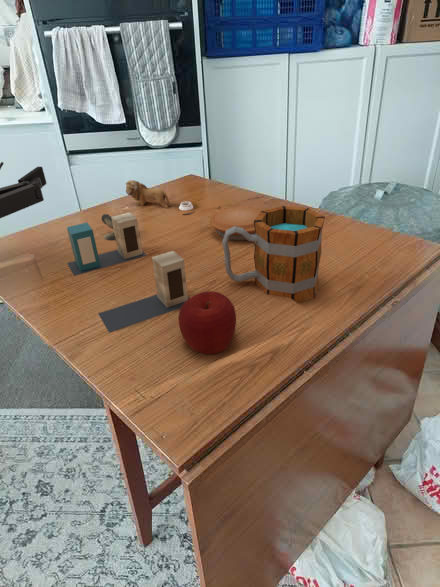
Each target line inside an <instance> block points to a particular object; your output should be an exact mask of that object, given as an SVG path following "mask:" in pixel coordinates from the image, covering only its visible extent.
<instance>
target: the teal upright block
mask: <svg viewBox="0 0 440 587" xmlns="http://www.w3.org/2000/svg"><path fill="white" fill-rule="evenodd" d="M66 230H67V235H68V238H69V241H70V245H71V249H72V254H73V257H74V261H75V262H76V264H77V266H78V267H79V269H80V271H83V270H87V269H91V268H94V267H98V266H100V261H99V257H98V255H99V253H98V247H97V243H96V239H95V235H94V230H93V228H92V227H91V225H90V224H89V223H88V222H82V223H79V224H74V225H71V226H67V227H66Z"/></svg>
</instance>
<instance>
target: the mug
mask: <svg viewBox="0 0 440 587" xmlns="http://www.w3.org/2000/svg"><path fill="white" fill-rule="evenodd" d="M260 211H261V212H260V213H259V215H258V216H257V217H256V219H255V220H254V227H255V235H251V234H249V233H248V232H247V231H245V230H244V229H243V228H240V227H236V226H234V227H232V228H230V229H228V230H226V232H225V235H224V238H223V237H222V241H221V243H222V248H223V255H224V256H223V257H224V267H225V272H226V274H227V275H228V277H229V279H230V280H231V281H234V282H237V283H241V282H244V281H249V280H252V279H254V284H256V286H258V287H259V288H260V289H261V290H262V291H263V292H264V293H265V294H266V295H270V296H275V297H282V298H288V299H291V300H293V301H294V302H295V303H297V304H300V303H303V302H306V301H309V300H313V299H315V298H316V295H317V291H318V288H319V269H320V262H321V257H322V236H323V228H324V223H325V218H326V217H325V216H323V215H322V214H320V213H318V212H316V211H315V210H313V209H311V208H309V207H299V206H287V205H282V206H278V207H274V208H268V209H264V210H260ZM234 233H238V234H241V235H242V236H243V237H244V238H246V239H247V240H246V241H248V242H250V243H251V242H253V243H254V252H253V260H254V270H252V271H247V272H244V273H241V274H236V273H233V270H232V263H231V261H232V260H231V252H230V246H229V239H228V238H229V236H230V235H232V234H234Z"/></svg>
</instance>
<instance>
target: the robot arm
mask: <svg viewBox="0 0 440 587" xmlns="http://www.w3.org/2000/svg"><path fill="white" fill-rule="evenodd" d="M3 165H4V162H3V161H1V162H0V170H1V169H2V168H3ZM46 185H47V178H46V175H45V172H44V169H43V166H36V167H35V168H33V169H32V170H30V171H29V172H28V173H26V174H25V175H23V176H22V177H20V178H19V179H18V180H17V183H14V184H10V185H6V186H3V187H0V219H2V218H3V219H4V218H5V217H8V216H10V215H12V214H14V213H18V212H19V211H22V210H25V209H27V208H29V207H31V206H34V205H37V204H40V203H41V202H43V201H44V200H45V199H44V196H43V191H42V188H43V187H44V186H46Z"/></svg>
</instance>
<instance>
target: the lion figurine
mask: <svg viewBox="0 0 440 587" xmlns="http://www.w3.org/2000/svg"><path fill="white" fill-rule="evenodd" d="M125 193H126V194H127V196H128V197H131V198H133V199H134V201H138V202H139V204H140V207H145V204H147V202H155V201H157V202H158V204H159V205H161V206H162V207H163V208H164V209H169V207H170V208H172V207H173V205H172V204H171V203H170V199H169V197H168V195H167V193H166V192H165V190H164V189H162V188H149V187H147V186H146V185H145V184H144V183H142V182H140V181H137V180H133V179H130V180H128V181H126V182H125ZM166 201H167V203H166Z"/></svg>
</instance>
